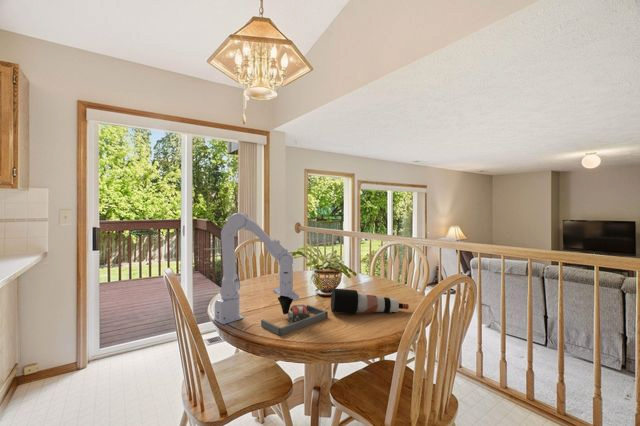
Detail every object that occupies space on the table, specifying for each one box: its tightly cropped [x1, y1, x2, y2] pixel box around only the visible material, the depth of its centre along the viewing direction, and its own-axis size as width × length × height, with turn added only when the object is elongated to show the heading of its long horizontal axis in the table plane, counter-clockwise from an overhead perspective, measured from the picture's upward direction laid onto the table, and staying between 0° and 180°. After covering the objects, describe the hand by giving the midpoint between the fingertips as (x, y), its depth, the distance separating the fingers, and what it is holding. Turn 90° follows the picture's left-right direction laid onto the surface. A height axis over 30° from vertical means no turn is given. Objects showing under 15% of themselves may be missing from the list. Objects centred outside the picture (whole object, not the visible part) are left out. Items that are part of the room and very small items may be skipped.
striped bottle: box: [330, 287, 410, 315], centre depth 131 cm, size 10×34×10 cm, turn 95°
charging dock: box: [260, 304, 328, 337], centre depth 120 cm, size 25×12×2 cm, turn 136°
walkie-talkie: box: [287, 304, 310, 324], centre depth 123 cm, size 9×4×20 cm
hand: (285, 313), depth 124 cm, fingers closed
